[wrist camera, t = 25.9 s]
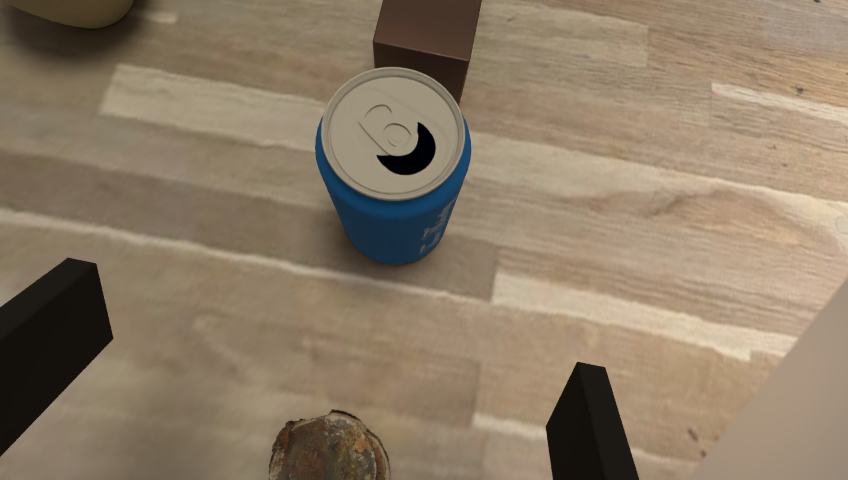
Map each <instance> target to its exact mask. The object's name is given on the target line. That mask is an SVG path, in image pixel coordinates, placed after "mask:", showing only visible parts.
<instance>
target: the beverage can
mask: <svg viewBox="0 0 848 480" xmlns="http://www.w3.org/2000/svg"><path fill="white" fill-rule="evenodd" d="M315 151H316V160H317V164H318V168H319V170H320V173H321V175H322V178H323V180H324V182H325V185H326V187H327V189H328V192H329V194H330V196H331V199H332V201H333V203H334V206H335V208H336V210H337V213H338V215H339V217H340V219H341V222H342V224H343V226H344V229H345V231H346V233H347V236H348V237H349V239H350V241H351V242H352V244H353V245H354V246H355V247H356V248H357V249H358V250H359V251H360V252H361V253H362V254H364V255H365V256H367V257H368V258H370V259H372V260H375V261H377V262H380V263H384V264H392V265H393V264H406V263H410V262H413V261H416V260H418V259H420V258H422V257H424V256H425V255H426V254H428V253H429V252H430V251H431V250H432V249H433V248H434V247H435V246H436V245H437V244H438V242H439V241H440V239H441V238H442V236H443V233H444V231H445V228H446V226H447V223H448V221H449V218H450V215H451V213H452V210H453V207H454V205H455V202H456V199H457V197H458V194H459V192H460V189H461V186H462V184H463V181H464V178H465V176H466V173H467V170H468V167H469V163H470V157H471V140H470V134H469V130H468V127H467V124H466V121H465V119H464V117H463V115H462V113H461V111H460V109H459V107H458V105H457V103H456V101H455V100H454V98H453V97H452V95H451V94H450V93H449V92H448V91H447V90H446V89H445V88H444V87H443V86H442V85H441V84H440V83H438V82H437V81H436V80H434V79H433V78H431V77H429V76H427V75H425V74H423V73H420V72H418V71H415V70H411V69H407V68H400V67H383V68H377V69H372V70H369V71H366V72H363V73H361V74H359V75H357V76H355V77H353V78H352V79H350V80H349V81H347V82H346V83H345V84H343V85H342V86H341V87H340V88H339V89H338V90H337V91H336V93H335V94H334V95H333V97H332V98H331V100H330V101H329V103H328V105H327V107H326V109H325V112H324V115H323V117H322V119H321V121H320V124H319V127H318V130H317V136H316V145H315Z"/></svg>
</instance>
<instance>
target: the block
mask: <svg viewBox="0 0 848 480" xmlns="http://www.w3.org/2000/svg"><path fill="white" fill-rule="evenodd" d="M481 1H482V0H383V3H382V7H381V11H380V15H379V19H378V23H377V26H376V30H375V34H374V38H373V51H374V63H375V69H377V68H383V67H400V68H407V69H411V70H415V71H418V72H420V73H423V74H425V75H427V76H429V77H431V78H433V79H434V80H436V81H437V82H438V83H440V84H441V85H442V86H443V87H444V88H445V89H446V90H447V91H448V92H449V93H450V94H451V95H452V97H453V98H454V100H455V101H456V103H457V105H458V107H459V103H460V99H461V95H462V91H463V87H464V83H465V79H466V75H467V71H468V66H469V62H470V58H471V52H472V47H473V42H474V37H475V32H476V27H477V22H478V17H479V11H480V6H481Z"/></svg>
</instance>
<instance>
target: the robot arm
mask: <svg viewBox="0 0 848 480" xmlns="http://www.w3.org/2000/svg"><path fill="white" fill-rule="evenodd" d="M112 340H113V335H112V330H111V326H110V322H109V317H108V313H107V308H106V304H105V300H104V295H103V291H102V287H101V282H100V278H99V273H98V269H97V265H96V263H91V262H87V261H82V260H77V259H72V258H67V259H66V260H64V261H63V262H61V263H60V264H59V265H57V266H56V267H55V268H53V269H52V270H51V271H49V272H48V273H46V274H45V275H44V276H42V277H41V278H40V279H38V280H37V281H36V282H34V283H33V284H31V285H30V286H29V287H27V288H26V289H25V290H23V291H22V292H21V293H19V294H18V295H16V296H15V297H14V298H12V299H11V300H10V301H8V302H7V303H6V304H4V305H3V306H1V307H0V457H1V456H2V454H3V453H4V452H5V451H6V450H7V449H8V448H9V447H10V446H11V445H12V444H13V443H14V442H15V441H16V440H17V439H18V438H19V437H20V436H21V435H22V434H23V433H24V431H25V430H26V429H27V428H28V427H29V426H30V425H31V424H32V423H33V422H34V421H35V420H36V419H37V418H38V417H39V416H40V415H41V414H42V413H43V412H44V411H45V410H46V409H47V407H48V406H49V405H50V404H51V403H52V402H53V401H54V400H55V399H56V398H57V397H58V396H59V395H60V394H61V393H62V392H63V391H64V390H65V389H66V388H67V387H68V386H69V385H70V383H71V382H72V381H73V380H74V379H75V378H76V377H77V376H78V375H79V374H80V373H81V372H82V371H83V370H84V369H85V368H86V367H87V366H88V365H89V364H90V363H91V362H92V360H93V359H94V358H95V357H96V356H97V355H98V354H99V353H100V352H101V351H102V350H103V349H104V348H105V347H106V346H107V345H108V344H109V343H110V342H111V341H112ZM546 433H547V440H548V447H549V454H550V461H551V469H552V476H553V480H639V477H638V474H637V471H636V467H635V464H634V461H633V457H632V454H631V451H630V448H629V444H628V441H627V438H626V434H625V431H624V428H623V424H622V421H621V418H620V415H619V411H618V408H617V405H616V401H615V398H614V395H613V391H612V388H611V385H610V382H609V378H608V375H607V372H606V368H605V367H600V366H596V365H591V364H586V363H581V362H577V363H576V365H575V367H574V370H573V372H572V374H571V376H570V378H569V380H568V382H567V384H566V386H565V388H564V390H563V392H562V394H561V396H560V398H559V400H558V402H557V404H556V407H555V409H554V411H553V413H552V415H551V417H550V419H549V421H548V423H547V425H546Z"/></svg>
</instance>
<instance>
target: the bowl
mask: <svg viewBox="0 0 848 480" xmlns="http://www.w3.org/2000/svg"><path fill="white" fill-rule="evenodd" d="M1 1H3V2H5V3H7V4H9V5H12V6H14V7H16V8H18V9H21V10H23V11H25V12H28V13H30V14H33V15H36V16H39V17H42V18H45V19H48V20H51V21H54V22H58V23H61V24H66V25H70V26H75V27H82V28H101V27H105V26H109V25H111V24H113V23H115V22H117V21H118V20H120V19H121V18H122V17H123V16H125V14H126V13H127V12H128V11H129V10H130V8H131V6H132V4H133V1H134V0H1Z"/></svg>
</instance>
